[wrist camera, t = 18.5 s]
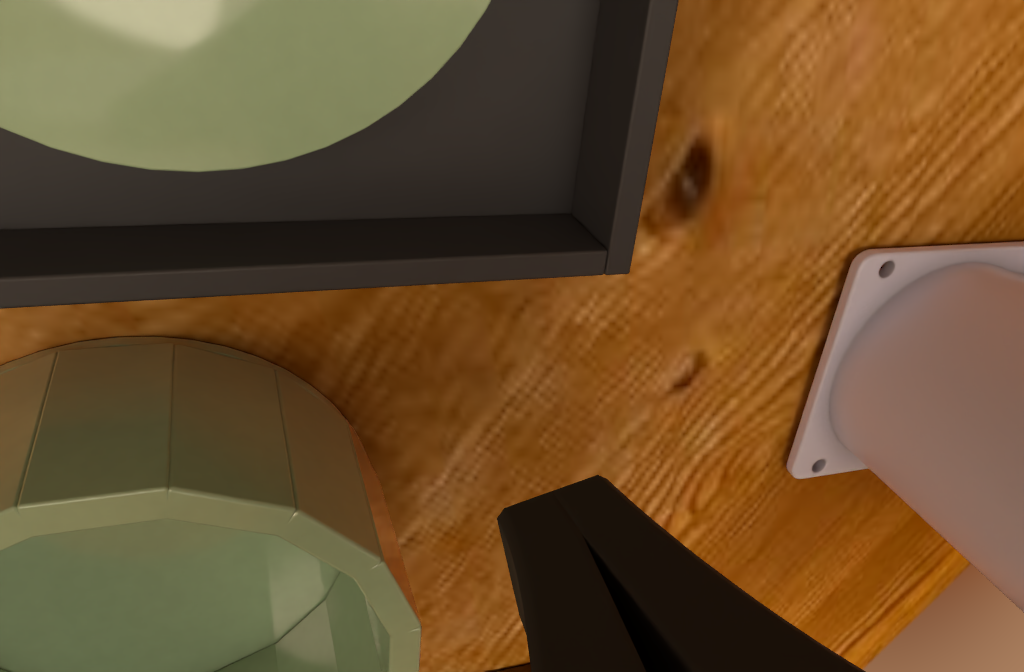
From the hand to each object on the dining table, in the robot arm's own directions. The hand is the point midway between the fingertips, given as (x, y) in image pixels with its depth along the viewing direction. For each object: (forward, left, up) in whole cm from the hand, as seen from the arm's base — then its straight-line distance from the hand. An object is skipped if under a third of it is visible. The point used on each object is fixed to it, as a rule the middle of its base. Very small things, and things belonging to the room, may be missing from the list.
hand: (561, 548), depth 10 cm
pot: (+6, +8, -10) cm, 14 cm away
